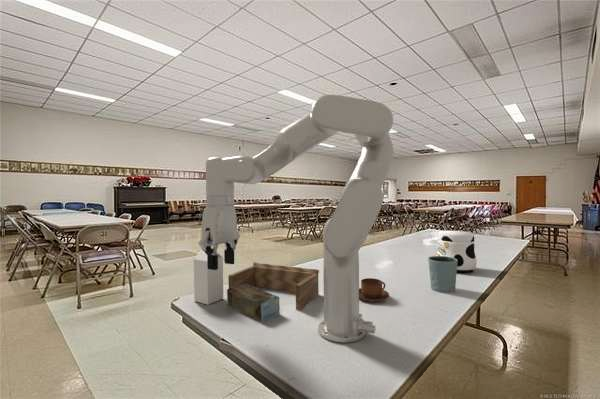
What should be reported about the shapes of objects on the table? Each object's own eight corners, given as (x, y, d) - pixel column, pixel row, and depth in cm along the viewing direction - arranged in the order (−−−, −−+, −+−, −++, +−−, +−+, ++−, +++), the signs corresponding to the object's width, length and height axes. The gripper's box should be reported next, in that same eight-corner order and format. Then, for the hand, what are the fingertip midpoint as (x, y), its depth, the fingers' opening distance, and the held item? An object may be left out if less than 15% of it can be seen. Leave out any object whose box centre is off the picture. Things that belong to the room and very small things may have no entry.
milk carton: (207, 305, 98) (206, 249, 98) (194, 301, 102) (193, 247, 102) (223, 298, 104) (222, 246, 104) (210, 295, 108) (209, 244, 108)
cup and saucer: (366, 290, 112) (366, 274, 112) (395, 298, 104) (395, 281, 104) (348, 298, 104) (347, 281, 104) (377, 307, 95) (377, 289, 95)
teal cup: (460, 289, 112) (460, 258, 112) (453, 296, 105) (453, 263, 105) (433, 283, 119) (433, 254, 119) (424, 289, 112) (424, 258, 112)
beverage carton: (260, 323, 85) (260, 301, 85) (226, 306, 98) (225, 287, 98) (280, 314, 90) (280, 294, 90) (245, 300, 104) (245, 282, 103)
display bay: (319, 294, 108) (318, 269, 108) (300, 310, 93) (299, 281, 93) (254, 284, 121) (254, 262, 121) (228, 297, 106) (228, 272, 106)
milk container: (428, 267, 145) (428, 231, 145) (452, 263, 152) (452, 229, 152) (460, 276, 129) (460, 236, 129) (484, 271, 137) (485, 233, 136)
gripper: (229, 201, 90) (230, 258, 91) (186, 203, 75) (187, 272, 75) (249, 201, 87) (250, 261, 87) (208, 203, 71) (209, 276, 72)
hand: (221, 265), depth 81 cm, fingers open, 6 cm apart
